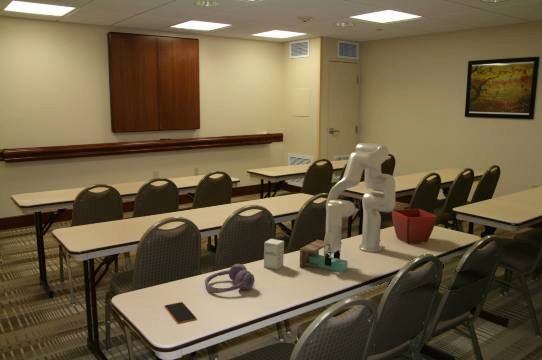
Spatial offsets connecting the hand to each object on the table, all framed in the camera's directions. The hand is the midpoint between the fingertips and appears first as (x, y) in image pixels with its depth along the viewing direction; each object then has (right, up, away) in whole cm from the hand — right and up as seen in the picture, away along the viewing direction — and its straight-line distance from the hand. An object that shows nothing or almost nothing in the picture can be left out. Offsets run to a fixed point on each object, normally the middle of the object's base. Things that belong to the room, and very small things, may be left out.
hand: (332, 262), depth 224 cm
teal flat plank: (-2, -2, +2) cm, 3 cm away
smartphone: (-64, -10, -51) cm, 82 cm away
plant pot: (+53, +4, +49) cm, 72 cm away
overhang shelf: (-8, -1, +6) cm, 10 cm away
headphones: (-48, -6, -25) cm, 55 cm away
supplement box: (-28, -2, +1) cm, 28 cm away
